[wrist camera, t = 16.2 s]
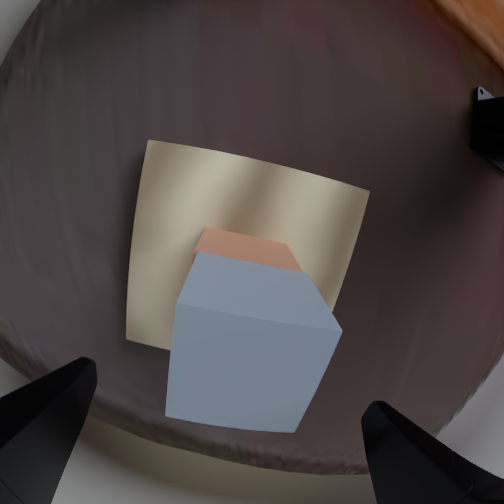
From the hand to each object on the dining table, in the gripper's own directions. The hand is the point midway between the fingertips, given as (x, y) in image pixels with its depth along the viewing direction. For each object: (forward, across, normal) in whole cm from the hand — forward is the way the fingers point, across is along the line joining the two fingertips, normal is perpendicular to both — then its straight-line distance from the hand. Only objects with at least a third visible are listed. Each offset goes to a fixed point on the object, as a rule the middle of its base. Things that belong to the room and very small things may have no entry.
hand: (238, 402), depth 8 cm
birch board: (+13, 0, 0) cm, 13 cm away
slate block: (+6, 0, 0) cm, 6 cm away
